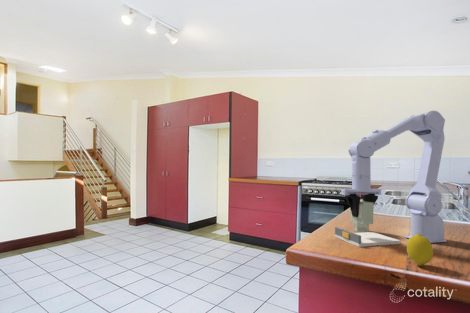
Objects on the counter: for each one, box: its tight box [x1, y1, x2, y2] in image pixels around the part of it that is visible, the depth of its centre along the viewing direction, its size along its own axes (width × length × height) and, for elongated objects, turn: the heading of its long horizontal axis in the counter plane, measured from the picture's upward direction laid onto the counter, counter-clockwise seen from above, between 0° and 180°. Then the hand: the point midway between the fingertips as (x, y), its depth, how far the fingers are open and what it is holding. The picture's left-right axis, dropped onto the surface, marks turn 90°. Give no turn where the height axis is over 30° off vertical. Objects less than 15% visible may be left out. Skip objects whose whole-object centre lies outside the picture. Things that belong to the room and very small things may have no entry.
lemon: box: [406, 234, 434, 267], centre depth 68 cm, size 6×6×8 cm
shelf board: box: [334, 226, 401, 248], centre depth 91 cm, size 16×12×3 cm
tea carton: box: [350, 200, 375, 225], centre depth 91 cm, size 4×6×7 cm
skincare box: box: [352, 198, 370, 233], centre depth 104 cm, size 6×4×12 cm
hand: (361, 216), depth 91 cm, fingers closed on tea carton, 4 cm apart
